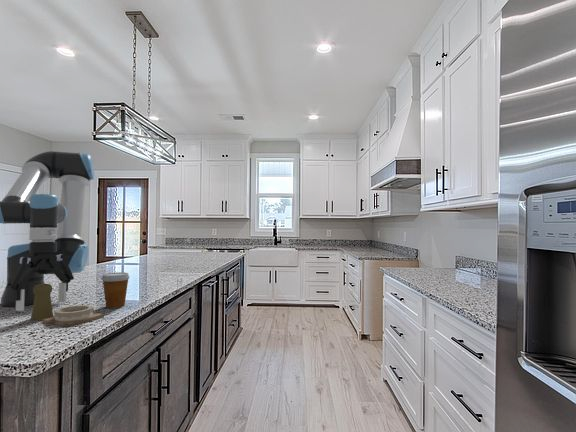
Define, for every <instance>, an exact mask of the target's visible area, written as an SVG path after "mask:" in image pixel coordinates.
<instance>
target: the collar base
mask: <svg viewBox="0 0 576 432" xmlns="http://www.w3.org/2000/svg"><path fill="white" fill-rule="evenodd" d="M104 317H105V314H104V313H98V312H94V306H92V305H89V304H77V305H76V304H75V305H68V306H63V307H58V308H57V309H54V310H53V317H51V318H47V319H43V320H41V321H42V322H41V323H42V324H47V325H55V326H61V327H67V328H71V327H74V326H79V325H82V324H85V323H88V322H92V321H95V320H98V318H99V319H102V318H104Z"/></svg>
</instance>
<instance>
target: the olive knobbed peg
mask: <svg viewBox="0 0 576 432" xmlns="http://www.w3.org/2000/svg"><path fill="white" fill-rule="evenodd" d="M52 292H53V286H52V284H50V283H45V284H39V285H36V286H34V288H33V293H34V294H35V298H34V304H32V310H31V311H32V312H31V317H30V320H31V321H42V320H43V319H47V318H51V317H54V310H53V304H52V298H51V293H52Z"/></svg>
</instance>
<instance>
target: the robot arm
mask: <svg viewBox="0 0 576 432" xmlns="http://www.w3.org/2000/svg"><path fill="white" fill-rule="evenodd" d="M94 169H95V168H94V162H93V159H92V156H91V155H90V154H88V153H82V152H70V151H69V152H67V151H53V150H51V151H44V152H41V153H40V152H39V154H35V155H34V156H32V157H31V158H29V159H28V160H26V162H25V163H24V164H23V165H22V167H21V174H20V175H19V177H18V178H17V179H16V180H15V182H14V183H13V185H11V188H9V191H8V192H7V193H6V195H5V196H4V197H3V198H2V200H1V201H0V224H3V225H4V224H5V225H7V224H29V233H28V234H29V238H28V239H29V243H22V244H15V245H14V244H13V245H11V246H10V247H8V250H7V256H6V284H5V288H4V290H3V292H2V296H1V298H0V306H2V307H15V311H17V312H25V306H31V305H32V306H33V304H34V298H35V294H34V293H33V288H34V286H36V285H39V284H46V283H45V280H44V279H45V275H55V277H56V278H58V280H59V281H60V282H58V299H57V301H58V303H66V302H67V292H68V291H69V283H71V281H73V280H74V279H75V276H74V275H73V274H78V273H81V272H83V271H84V270H85V268H86V265H87V263H88V258H89V246H88V245H87V244H86V243H85V240H84V239H83V238H82V227H83V216H84V213H83V212H84V206H85V205H84V202H85V192H86V187H87V186H89V185H90V181H92V180H94V179H95V170H94ZM48 179H58V182H59V184H61V193H60V202H59V201H58V200H59V197H58V196H57V195H55V194H47V193H46V194H45V193H38V190H39V189H40V187H41V186H42V184H43V183H44V182H45V181H47V180H48Z"/></svg>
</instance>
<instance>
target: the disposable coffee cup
mask: <svg viewBox="0 0 576 432" xmlns="http://www.w3.org/2000/svg"><path fill="white" fill-rule="evenodd" d="M101 276H102V277H101V281H102V284H103V293H104V295H103V296H104V301H105V302H104V303H105V307H106V308H107V309H117V308H122V307H124V306H125V304H126V297H127V291H128V283H129V279H130V274H129V272H123V271H122V272H118V271H117V272H107V273H103V274H102V275H101Z"/></svg>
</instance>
